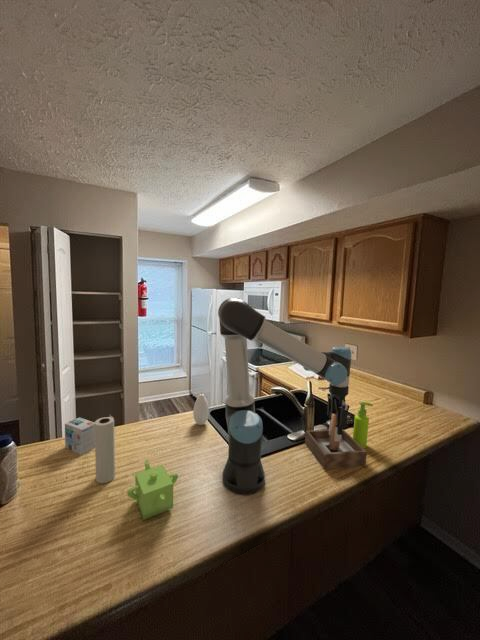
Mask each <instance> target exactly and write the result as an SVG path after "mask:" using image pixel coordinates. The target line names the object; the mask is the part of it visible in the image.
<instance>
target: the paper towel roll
mask: <svg viewBox="0 0 480 640" xmlns="http://www.w3.org/2000/svg"><path fill="white" fill-rule="evenodd" d="M94 423H95V448H94V449H95V450H94V452H95V457H94V458H95V481H96V482H97V483H98V484H107V483H109V482H111V481H113V480H114V478H115V477H116V462H115V461H116V459H115V456H116V455H115V452H116V451H115V450H116V449H115V418H114V417H113V416H112V415H109V416H107V417H105V416H104V417H100V418H97V419H96V420H95V421H94Z"/></svg>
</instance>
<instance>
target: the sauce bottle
mask: <svg viewBox="0 0 480 640" xmlns="http://www.w3.org/2000/svg"><path fill="white" fill-rule="evenodd" d="M200 391H201V392H200V394H199V395H198V397H197V398H196V400H195V402H194V406H193V409H192V410H193V411H192V414H193V415H192V416H193V421H194V422H195V423H196V424H197V425H199V426H202V425H205V424H206V423H207V422H208V420H209V417H210V406H209V402H208V399H207V398H206V397H205V394H204V393H203V390H202V389H201V390H200Z"/></svg>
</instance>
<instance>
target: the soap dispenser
mask: <svg viewBox="0 0 480 640" xmlns="http://www.w3.org/2000/svg"><path fill="white" fill-rule="evenodd" d="M359 405H360V407H359V408H358V411H357V414H355V415H354V420H353V421H354V422H353V432H352V438H353V439H354V440H355V441H356V442H357V443H358V444H359V445H360V446H362V447H363V448H364V449H365V448H367V444H368V433H369V424H370V423H369V421H370V418H369V417H368V416H367V409H365V408H366V406H371V407H373V406H374V405H373V404H372V403H371V402H367V401H359Z"/></svg>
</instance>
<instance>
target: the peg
mask: <svg viewBox="0 0 480 640" xmlns="http://www.w3.org/2000/svg"><path fill="white" fill-rule="evenodd" d="M335 425H337V415H336V413H332V417H331V430H330V444H329V446H330V447H331V448H333V449H338V448H339V445H340V441H334V438H335Z"/></svg>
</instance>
